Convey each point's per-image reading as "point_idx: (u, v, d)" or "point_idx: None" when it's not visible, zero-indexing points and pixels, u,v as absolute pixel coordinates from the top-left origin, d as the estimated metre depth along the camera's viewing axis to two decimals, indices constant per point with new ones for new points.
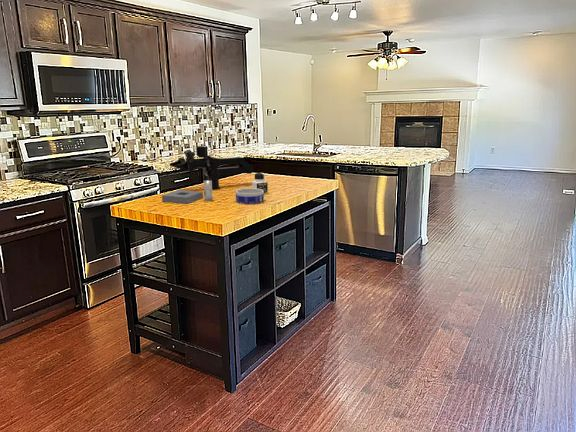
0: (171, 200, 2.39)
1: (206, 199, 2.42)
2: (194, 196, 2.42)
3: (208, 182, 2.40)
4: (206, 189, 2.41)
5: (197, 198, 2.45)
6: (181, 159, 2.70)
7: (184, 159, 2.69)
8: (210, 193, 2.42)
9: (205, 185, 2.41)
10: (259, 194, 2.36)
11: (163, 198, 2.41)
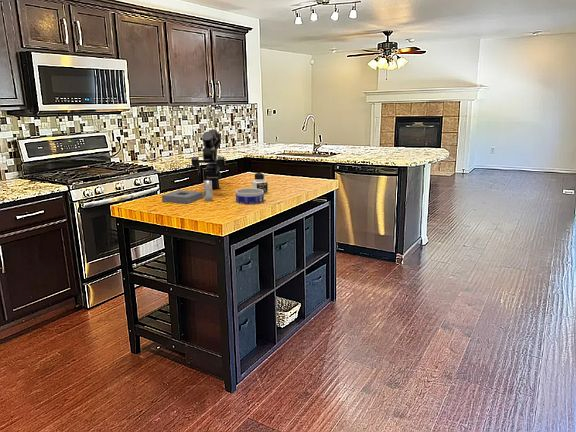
0: (171, 200, 2.39)
1: (206, 199, 2.42)
2: (194, 196, 2.42)
3: (208, 182, 2.40)
4: (206, 189, 2.41)
5: (197, 198, 2.45)
6: None
7: (198, 157, 2.52)
8: (210, 193, 2.42)
9: (205, 185, 2.41)
10: (259, 194, 2.36)
11: (163, 198, 2.41)
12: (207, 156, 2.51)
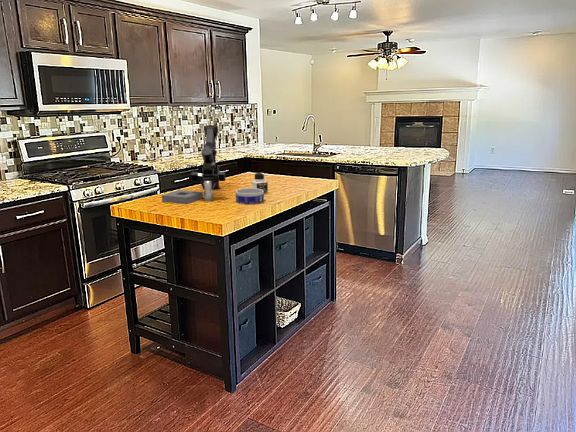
0: (171, 200, 2.39)
1: (206, 199, 2.42)
2: (194, 196, 2.42)
3: (208, 182, 2.40)
4: (206, 189, 2.41)
5: (197, 198, 2.45)
6: None
7: (197, 172, 2.44)
8: (210, 193, 2.42)
9: (205, 185, 2.41)
10: (259, 194, 2.36)
11: (163, 198, 2.41)
12: (207, 171, 2.44)
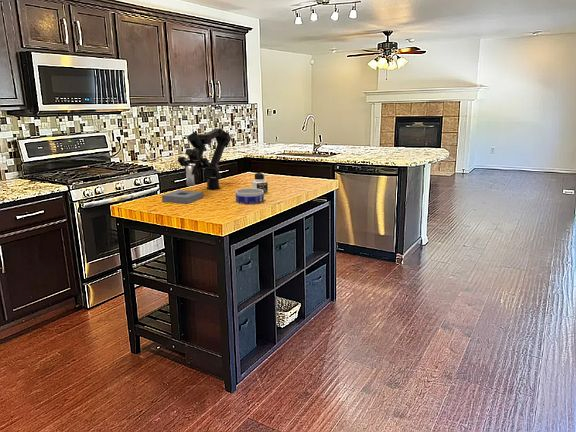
0: (171, 200, 2.39)
1: (187, 183, 2.50)
2: (194, 196, 2.42)
3: (188, 167, 2.47)
4: (187, 174, 2.49)
5: (197, 198, 2.45)
6: None
7: (184, 157, 2.54)
8: (190, 178, 2.49)
9: (186, 170, 2.49)
10: (259, 194, 2.36)
11: (163, 198, 2.41)
12: (192, 157, 2.51)
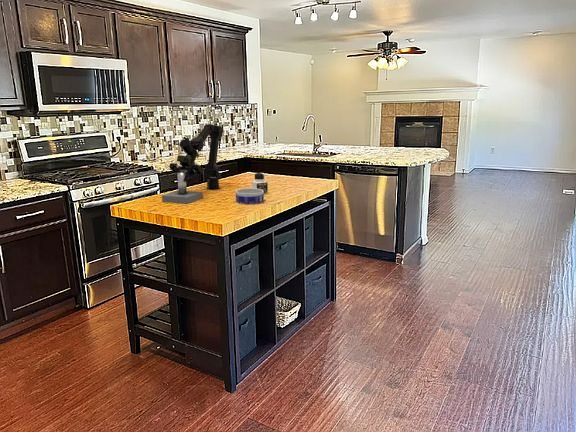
0: (171, 200, 2.39)
1: (179, 191, 2.43)
2: (194, 196, 2.42)
3: (180, 174, 2.40)
4: (178, 181, 2.42)
5: (197, 198, 2.45)
6: None
7: (176, 164, 2.47)
8: (182, 185, 2.42)
9: (178, 177, 2.42)
10: (259, 194, 2.36)
11: (163, 198, 2.41)
12: (184, 163, 2.44)
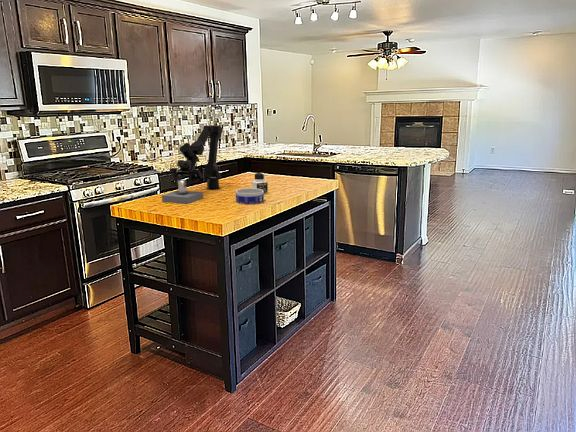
0: (171, 200, 2.39)
1: None
2: (194, 196, 2.42)
3: (180, 182, 2.41)
4: (179, 188, 2.43)
5: (197, 198, 2.45)
6: None
7: (176, 168, 2.47)
8: (183, 193, 2.43)
9: (178, 184, 2.43)
10: (259, 194, 2.36)
11: (163, 198, 2.41)
12: (184, 168, 2.45)
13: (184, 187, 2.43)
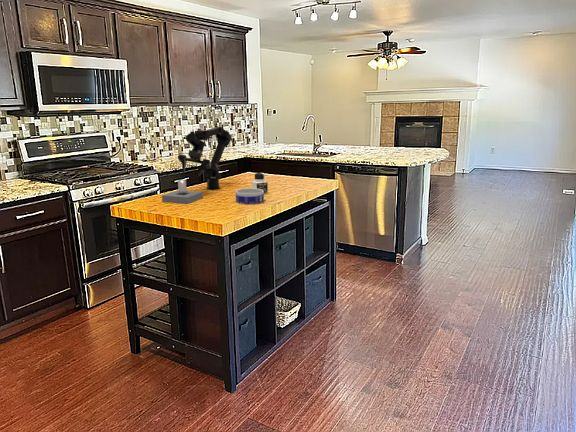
0: (171, 200, 2.39)
1: None
2: (194, 196, 2.42)
3: (180, 182, 2.41)
4: (179, 188, 2.43)
5: (197, 198, 2.45)
6: None
7: (185, 155, 2.54)
8: (183, 193, 2.43)
9: (178, 184, 2.43)
10: (259, 194, 2.36)
11: (163, 198, 2.41)
12: (193, 157, 2.53)
13: (184, 187, 2.43)
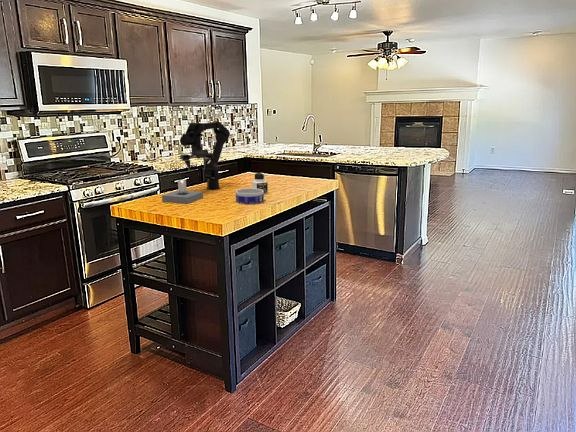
0: (171, 200, 2.39)
1: None
2: (194, 196, 2.42)
3: (180, 182, 2.41)
4: (179, 188, 2.43)
5: (197, 198, 2.45)
6: None
7: (189, 155, 2.56)
8: (183, 193, 2.43)
9: (178, 184, 2.43)
10: (259, 194, 2.36)
11: (163, 198, 2.41)
12: None
13: (184, 187, 2.43)
